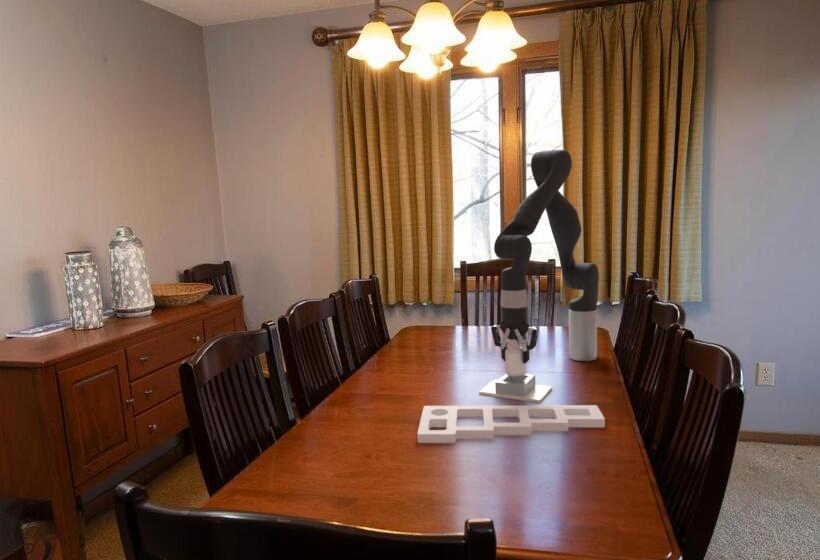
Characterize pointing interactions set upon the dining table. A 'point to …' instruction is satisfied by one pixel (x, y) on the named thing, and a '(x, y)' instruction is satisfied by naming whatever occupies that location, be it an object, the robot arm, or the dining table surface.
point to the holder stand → (517, 388)
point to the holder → (449, 414)
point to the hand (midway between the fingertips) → (515, 361)
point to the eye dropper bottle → (515, 359)
